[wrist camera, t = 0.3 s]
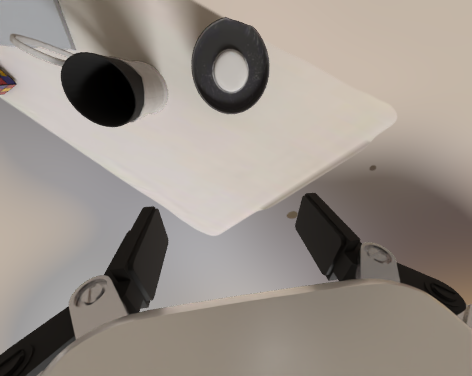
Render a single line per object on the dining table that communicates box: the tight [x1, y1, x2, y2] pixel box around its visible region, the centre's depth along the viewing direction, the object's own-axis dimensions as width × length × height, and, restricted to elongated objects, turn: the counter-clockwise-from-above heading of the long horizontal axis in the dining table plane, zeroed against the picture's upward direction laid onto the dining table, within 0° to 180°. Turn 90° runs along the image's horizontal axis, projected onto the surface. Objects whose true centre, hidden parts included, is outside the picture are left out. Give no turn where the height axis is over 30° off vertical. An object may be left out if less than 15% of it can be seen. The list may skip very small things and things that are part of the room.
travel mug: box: [192, 17, 269, 114], centre depth 24 cm, size 8×8×20 cm
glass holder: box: [10, 34, 168, 127], centre depth 24 cm, size 9×14×15 cm, turn 57°
